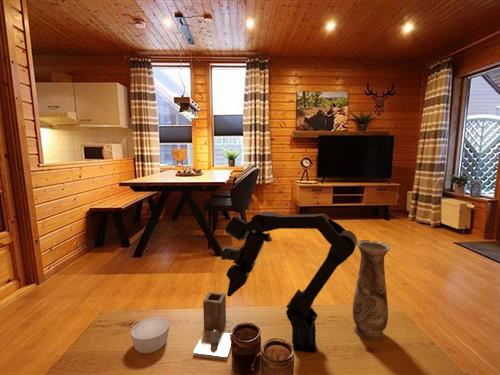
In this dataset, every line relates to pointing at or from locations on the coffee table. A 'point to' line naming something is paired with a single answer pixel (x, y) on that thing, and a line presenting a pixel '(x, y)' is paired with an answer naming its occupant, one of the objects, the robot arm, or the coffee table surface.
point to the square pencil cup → (214, 311)
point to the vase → (371, 292)
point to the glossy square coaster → (213, 345)
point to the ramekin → (150, 334)
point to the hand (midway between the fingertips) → (231, 290)
